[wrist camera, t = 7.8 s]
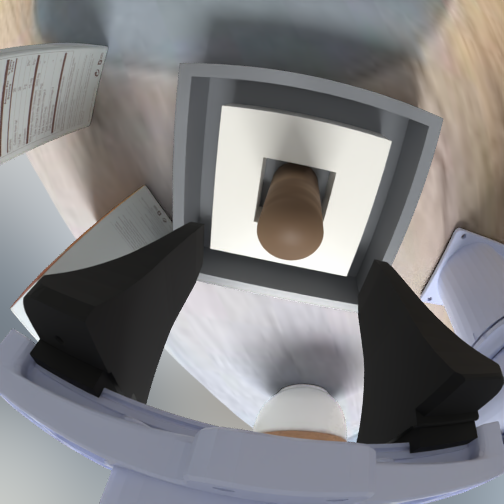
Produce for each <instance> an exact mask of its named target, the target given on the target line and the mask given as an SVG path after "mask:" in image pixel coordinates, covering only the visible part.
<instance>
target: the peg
mask: <svg viewBox="0 0 504 504" xmlns="http://www.w3.org/2000/svg"><path fill="white" fill-rule="evenodd" d="M323 235H324V229H323V219H322V210H321V202H320V194H319V186H318V179H317V176H316V174H315V172H314V171H313V170H312V169H311V168H310V167H309V166H305V165H301V164H296V163H291V162H289V163H286V164H284V165H282V166H280V167H279V168H278V169H277V170H276V172H275V173H274V176H273V178H272V181H271V184H270V187H269V190H268V193H267V196H266V199H265V202H264V205H263V208H262V211H261V214H260V217H259V220H258V224H257V236H258V239H259V242H260V244H261V245H262V247H263V248H264V249H265V250H266V251H267V252H268V253H269V254H271V255H273V256H274V257H277V258H279V259H283V260H290V261H293V260H300V259H304V258H306V257H308V256H310V255H311V254H313V253H314V252H315V251H316V250H317V249H318V248H319V246H320V245H321V242H322V240H323Z"/></svg>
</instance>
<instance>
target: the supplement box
mask: <svg viewBox="0 0 504 504" xmlns="http://www.w3.org/2000/svg"><path fill="white" fill-rule="evenodd" d="M107 50H108V47H107V46H101V45H92V44H82V43H49V44H38V45H28V46H19V47H12V48H6V49H0V165H2V164H4V163H5V162H7V161H9V160H11V159H13V158H15V157H17V156H19V155H21V154H23V153H25V152H28V151H30V150H32V149H34V148H36V147H38V146H40V145H43V144H45V143H47V142H50V141H52V140H54V139H57V138H59V137H61V136H64V135H66V134H69V133H72V132H74V131H77V130H79V129H82V128H85V127H87V126H89V125H90V123H91V118H92V114H93V108H94V103H95V98H96V94H97V89H98V85H99V81H100V77H101V73H102V69H103V65H104V61H105V58H106V54H107Z"/></svg>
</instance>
